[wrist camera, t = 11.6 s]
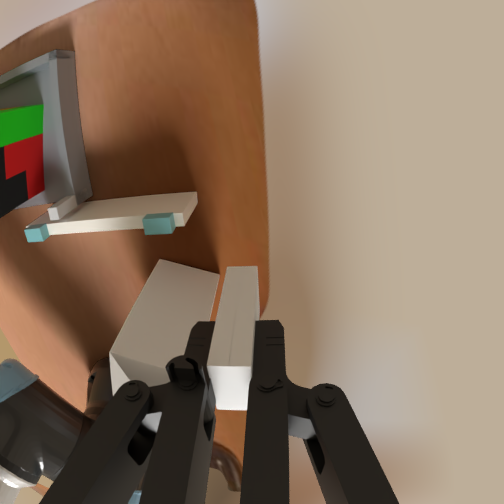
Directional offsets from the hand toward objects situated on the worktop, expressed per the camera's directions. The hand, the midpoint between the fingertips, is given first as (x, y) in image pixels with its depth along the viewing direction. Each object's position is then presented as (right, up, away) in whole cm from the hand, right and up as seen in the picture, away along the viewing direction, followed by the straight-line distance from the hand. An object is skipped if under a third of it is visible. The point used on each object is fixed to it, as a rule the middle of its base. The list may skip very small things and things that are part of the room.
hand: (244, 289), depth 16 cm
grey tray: (-28, +15, +12) cm, 34 cm away
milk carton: (-7, -2, +21) cm, 22 cm away
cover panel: (-14, +7, +16) cm, 22 cm away
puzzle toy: (-28, +14, +11) cm, 33 cm away
